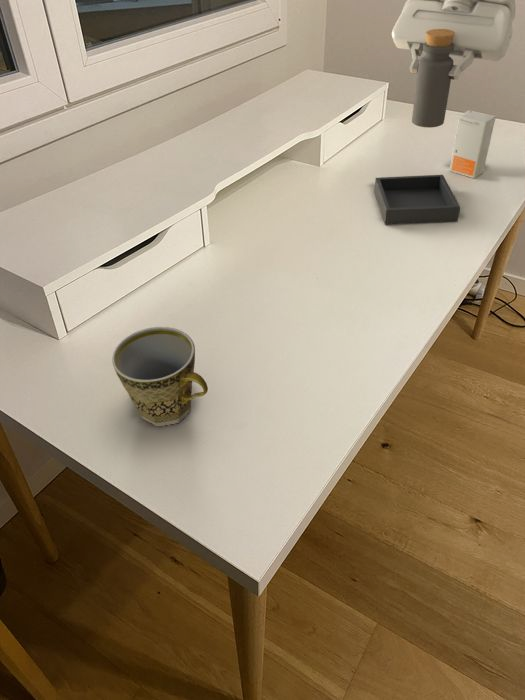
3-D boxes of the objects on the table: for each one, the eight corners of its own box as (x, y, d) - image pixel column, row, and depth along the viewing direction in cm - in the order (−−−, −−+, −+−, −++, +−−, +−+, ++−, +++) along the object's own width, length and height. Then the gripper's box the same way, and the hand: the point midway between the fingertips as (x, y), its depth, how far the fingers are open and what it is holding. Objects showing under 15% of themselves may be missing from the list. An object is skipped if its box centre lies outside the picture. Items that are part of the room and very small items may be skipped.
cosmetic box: (448, 171, 125) (458, 115, 118) (458, 165, 128) (468, 109, 120) (474, 179, 122) (486, 122, 114) (484, 172, 125) (496, 115, 117)
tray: (440, 188, 120) (443, 174, 118) (457, 221, 110) (460, 206, 108) (374, 191, 120) (375, 177, 118) (384, 225, 110) (386, 210, 108)
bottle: (410, 115, 111) (421, 28, 101) (442, 116, 110) (456, 27, 100) (412, 127, 106) (423, 37, 96) (445, 128, 106) (460, 36, 96)
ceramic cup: (112, 417, 77) (94, 361, 70) (163, 372, 83) (151, 317, 76) (188, 460, 71) (176, 403, 64) (236, 408, 77) (230, 352, 70)
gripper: (405, -18, 103) (374, 56, 104) (522, -9, 94) (488, 73, 95) (413, 5, 109) (384, 76, 110) (524, 16, 100) (492, 93, 100)
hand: (433, 75), depth 102 cm, fingers closed on bottle, 6 cm apart
